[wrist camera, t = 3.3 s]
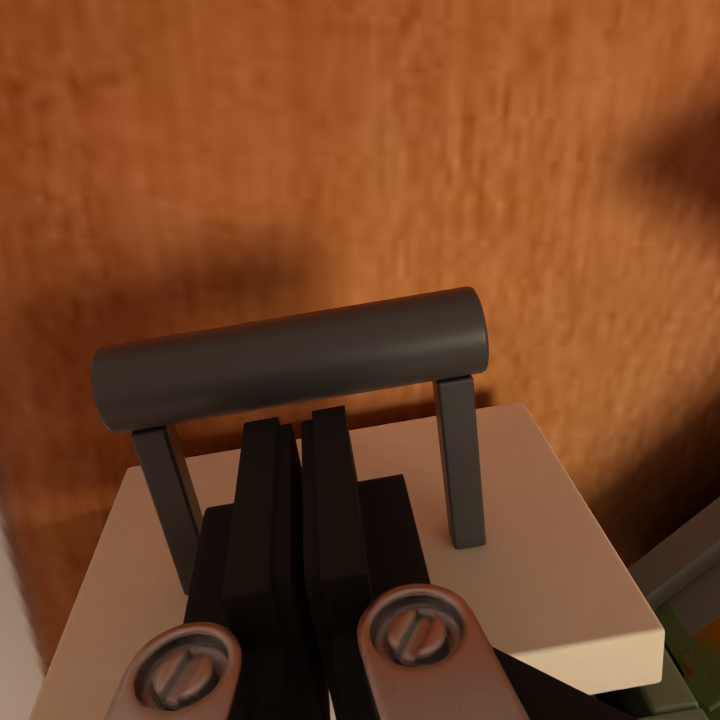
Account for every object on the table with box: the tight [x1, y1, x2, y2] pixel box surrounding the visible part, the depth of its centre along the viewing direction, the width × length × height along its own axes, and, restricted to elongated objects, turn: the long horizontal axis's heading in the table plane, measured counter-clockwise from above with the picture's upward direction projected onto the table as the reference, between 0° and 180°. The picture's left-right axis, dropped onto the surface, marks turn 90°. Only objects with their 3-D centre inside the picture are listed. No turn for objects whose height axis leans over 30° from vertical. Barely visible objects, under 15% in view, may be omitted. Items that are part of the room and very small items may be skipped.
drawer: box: [29, 286, 665, 720], centre depth 15 cm, size 17×10×7 cm, turn 8°
